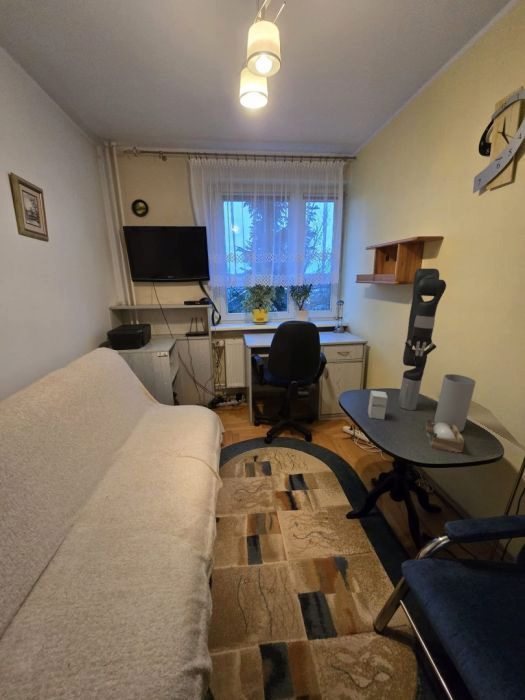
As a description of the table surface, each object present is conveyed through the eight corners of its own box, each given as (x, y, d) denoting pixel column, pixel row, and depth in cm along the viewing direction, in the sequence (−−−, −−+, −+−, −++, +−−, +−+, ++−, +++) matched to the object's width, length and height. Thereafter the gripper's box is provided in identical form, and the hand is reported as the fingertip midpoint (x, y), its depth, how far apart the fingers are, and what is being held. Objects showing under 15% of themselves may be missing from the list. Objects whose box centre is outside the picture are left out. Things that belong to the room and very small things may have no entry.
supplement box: (369, 418, 147) (372, 395, 143) (367, 411, 154) (370, 389, 150) (384, 420, 145) (388, 397, 141) (382, 413, 152) (385, 391, 148)
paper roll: (453, 434, 130) (436, 437, 133) (447, 420, 130) (430, 424, 133) (459, 446, 121) (441, 450, 124) (453, 432, 120) (435, 436, 123)
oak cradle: (425, 430, 136) (427, 418, 134) (452, 435, 133) (455, 423, 131) (431, 447, 123) (434, 434, 121) (461, 453, 120) (465, 439, 118)
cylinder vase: (450, 418, 148) (460, 373, 141) (470, 431, 136) (482, 383, 129) (428, 419, 146) (438, 374, 140) (446, 433, 135) (458, 384, 128)
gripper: (438, 325, 126) (431, 362, 131) (406, 323, 130) (399, 359, 135) (443, 328, 119) (434, 367, 124) (408, 326, 123) (401, 363, 128)
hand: (416, 363), depth 130 cm, fingers closed
